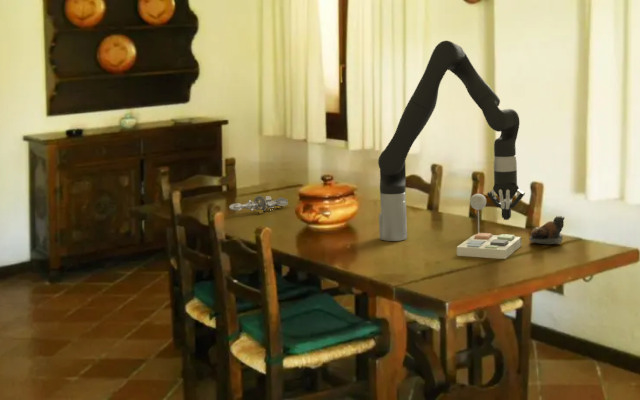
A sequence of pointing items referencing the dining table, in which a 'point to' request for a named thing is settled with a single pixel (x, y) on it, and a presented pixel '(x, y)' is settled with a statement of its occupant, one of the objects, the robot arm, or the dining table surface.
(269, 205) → the spaceship
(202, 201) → the dining table surface
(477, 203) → the lollipop
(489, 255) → the keypad
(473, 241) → the key slate
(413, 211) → the dining table surface
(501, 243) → the key charcoal
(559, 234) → the brown cat figurine
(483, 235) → the key terracotta
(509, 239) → the key sage
